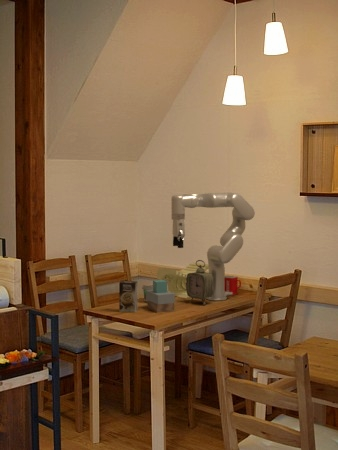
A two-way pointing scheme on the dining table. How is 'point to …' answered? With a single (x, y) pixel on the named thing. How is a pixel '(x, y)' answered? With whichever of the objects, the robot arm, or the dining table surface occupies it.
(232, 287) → the mug
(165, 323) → the dining table surface
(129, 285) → the coffee box
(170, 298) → the white box
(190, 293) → the tabletop clock
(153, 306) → the base block
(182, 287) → the slatted curved stool
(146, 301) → the food container
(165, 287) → the teal cube
